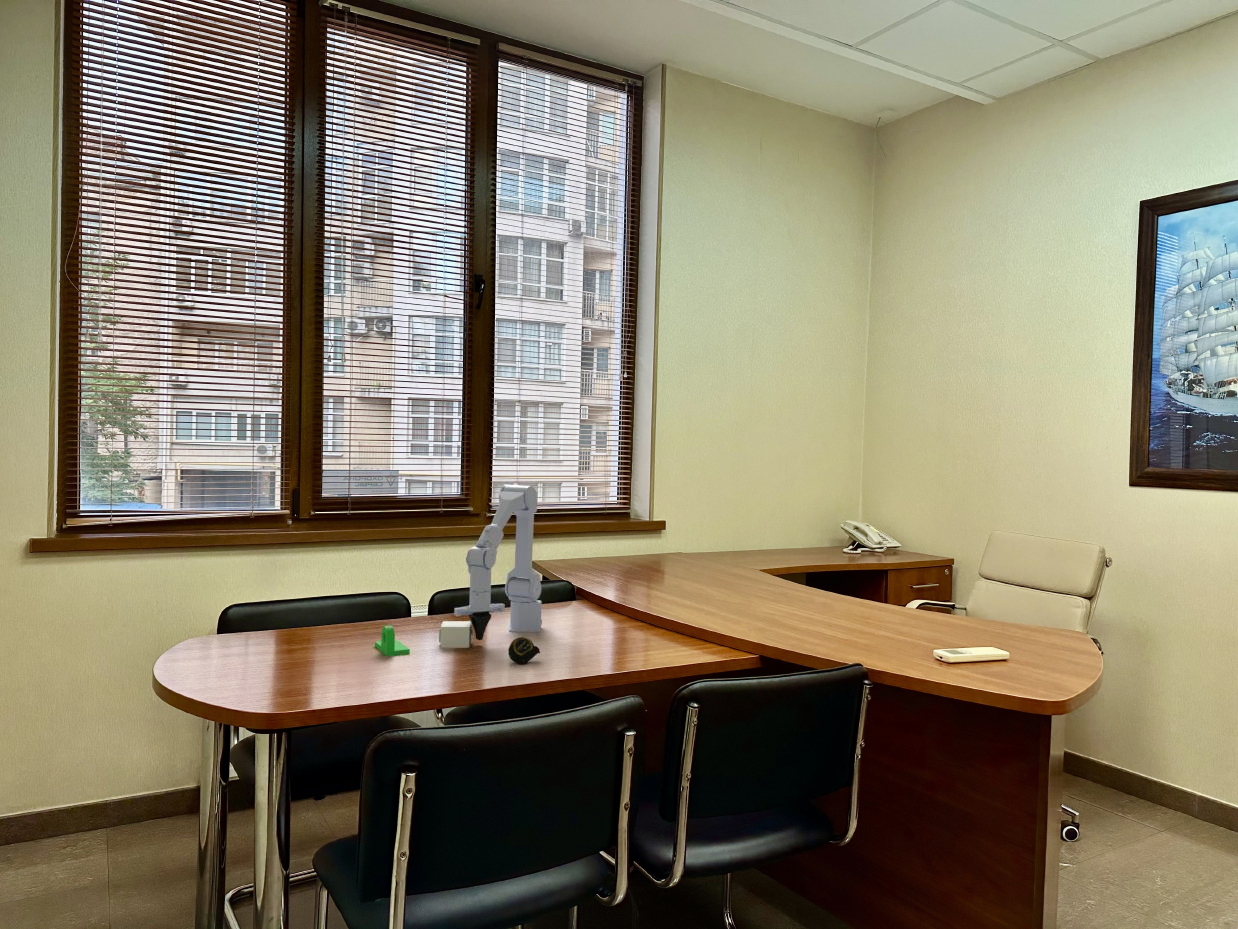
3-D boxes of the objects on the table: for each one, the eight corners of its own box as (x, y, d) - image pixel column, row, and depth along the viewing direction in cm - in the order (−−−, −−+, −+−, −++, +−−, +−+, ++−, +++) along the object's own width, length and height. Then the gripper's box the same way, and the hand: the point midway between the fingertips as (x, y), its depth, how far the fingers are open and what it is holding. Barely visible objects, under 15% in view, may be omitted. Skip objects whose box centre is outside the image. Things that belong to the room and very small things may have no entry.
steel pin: (472, 640, 241) (473, 628, 240) (472, 644, 237) (472, 630, 237) (439, 640, 239) (440, 628, 239) (438, 644, 236) (439, 630, 236)
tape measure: (520, 671, 219) (523, 664, 217) (501, 653, 221) (504, 645, 218) (538, 656, 224) (542, 649, 221) (519, 638, 226) (523, 630, 223)
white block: (471, 643, 242) (472, 621, 242) (470, 649, 235) (470, 626, 235) (442, 643, 241) (443, 621, 241) (440, 649, 234) (441, 626, 234)
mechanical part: (409, 656, 227) (410, 626, 227) (386, 659, 224) (387, 628, 224) (396, 646, 238) (397, 617, 237) (374, 648, 235) (375, 619, 234)
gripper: (496, 586, 246) (495, 633, 246) (449, 590, 237) (448, 639, 238) (508, 590, 240) (507, 638, 241) (461, 594, 232) (460, 644, 232)
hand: (479, 639), depth 239 cm, fingers closed
